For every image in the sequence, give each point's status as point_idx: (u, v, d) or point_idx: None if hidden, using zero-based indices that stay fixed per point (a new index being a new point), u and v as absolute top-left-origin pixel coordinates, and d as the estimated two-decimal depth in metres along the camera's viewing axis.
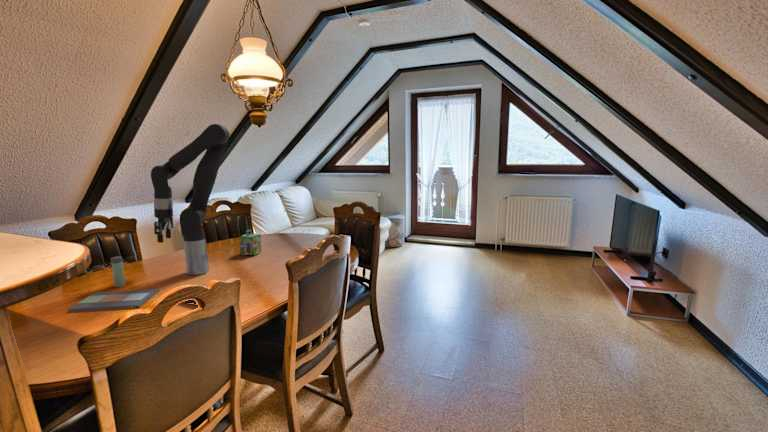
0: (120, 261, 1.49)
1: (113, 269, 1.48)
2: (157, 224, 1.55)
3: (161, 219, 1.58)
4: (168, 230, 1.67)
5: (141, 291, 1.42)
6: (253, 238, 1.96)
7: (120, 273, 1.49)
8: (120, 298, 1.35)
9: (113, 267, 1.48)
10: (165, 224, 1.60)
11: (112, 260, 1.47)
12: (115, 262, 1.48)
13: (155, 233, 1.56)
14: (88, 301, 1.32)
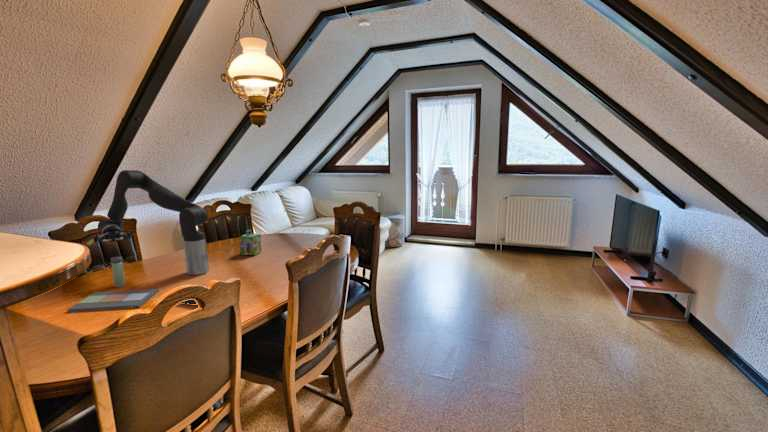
0: (120, 261, 1.49)
1: (113, 269, 1.48)
2: None
3: (102, 234, 1.62)
4: None
5: (141, 291, 1.42)
6: (253, 238, 1.96)
7: (120, 273, 1.49)
8: (120, 298, 1.35)
9: (113, 267, 1.48)
10: (105, 233, 1.61)
11: (112, 260, 1.47)
12: (115, 262, 1.48)
13: None
14: (88, 301, 1.32)
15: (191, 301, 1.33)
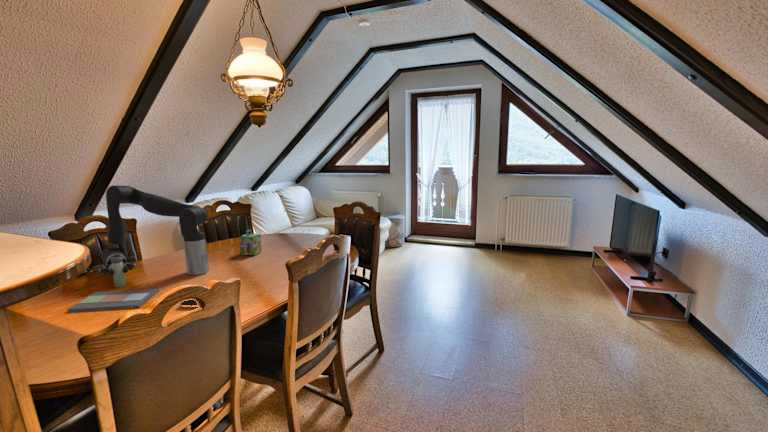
0: (120, 261, 1.49)
1: (113, 269, 1.48)
2: (99, 269, 1.51)
3: None
4: None
5: (141, 291, 1.42)
6: (253, 238, 1.96)
7: (120, 273, 1.49)
8: (120, 298, 1.35)
9: (113, 267, 1.48)
10: (111, 264, 1.53)
11: (112, 260, 1.47)
12: (115, 262, 1.48)
13: (103, 273, 1.49)
14: (88, 301, 1.32)
15: (194, 303, 1.31)
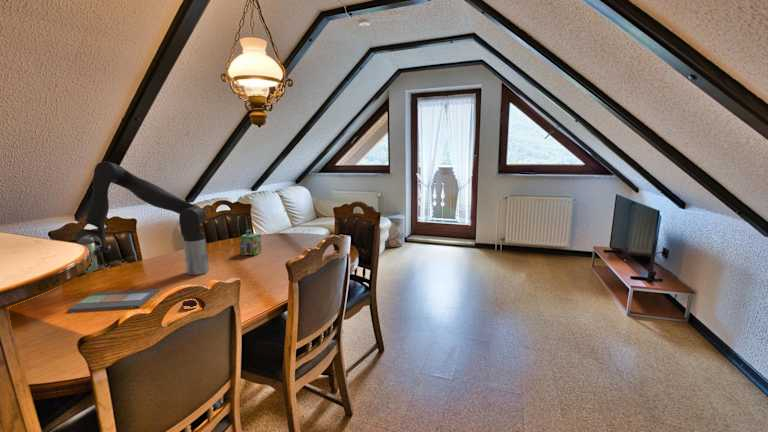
0: (91, 242, 1.31)
1: None
2: None
3: None
4: None
5: (141, 291, 1.42)
6: (253, 238, 1.96)
7: (91, 255, 1.31)
8: (120, 298, 1.35)
9: None
10: None
11: (81, 241, 1.30)
12: (85, 243, 1.30)
13: None
14: (88, 301, 1.32)
15: None
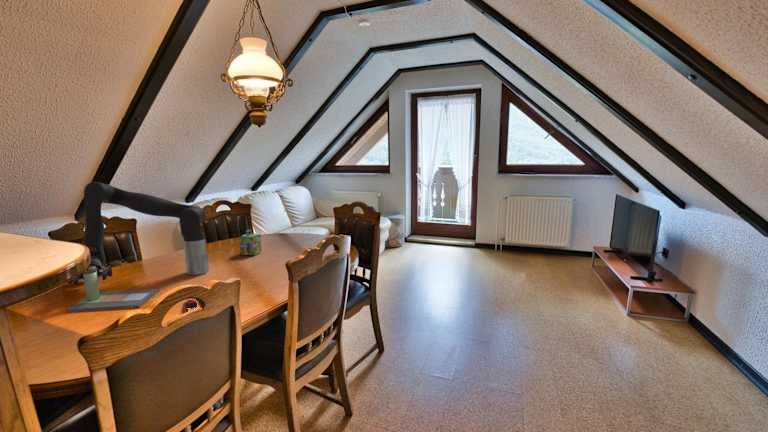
0: (93, 271, 1.32)
1: (85, 280, 1.31)
2: None
3: None
4: None
5: (141, 291, 1.42)
6: (253, 238, 1.96)
7: (93, 284, 1.32)
8: (120, 298, 1.35)
9: (85, 279, 1.31)
10: None
11: None
12: (87, 272, 1.30)
13: None
14: (88, 301, 1.32)
15: None
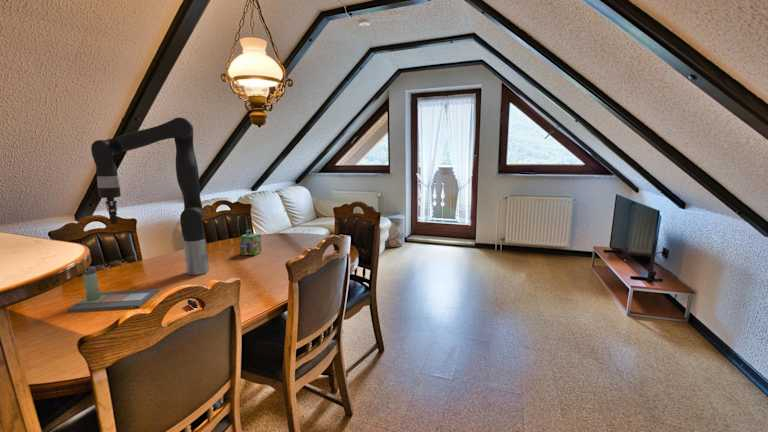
0: (93, 272, 1.31)
1: (85, 281, 1.31)
2: (112, 203, 1.44)
3: (112, 198, 1.47)
4: (112, 212, 1.53)
5: (141, 291, 1.42)
6: (253, 238, 1.96)
7: (93, 285, 1.32)
8: (120, 298, 1.35)
9: (84, 279, 1.30)
10: (116, 204, 1.49)
11: None
12: (87, 273, 1.30)
13: (110, 213, 1.44)
14: (88, 301, 1.32)
15: None
